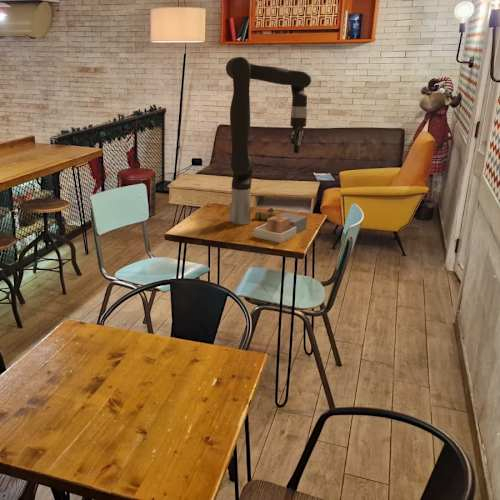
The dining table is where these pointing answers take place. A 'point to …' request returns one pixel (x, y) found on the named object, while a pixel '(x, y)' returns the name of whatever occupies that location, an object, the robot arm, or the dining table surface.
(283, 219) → the terracotta block
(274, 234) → the box
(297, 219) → the grey platform
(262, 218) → the gavel
